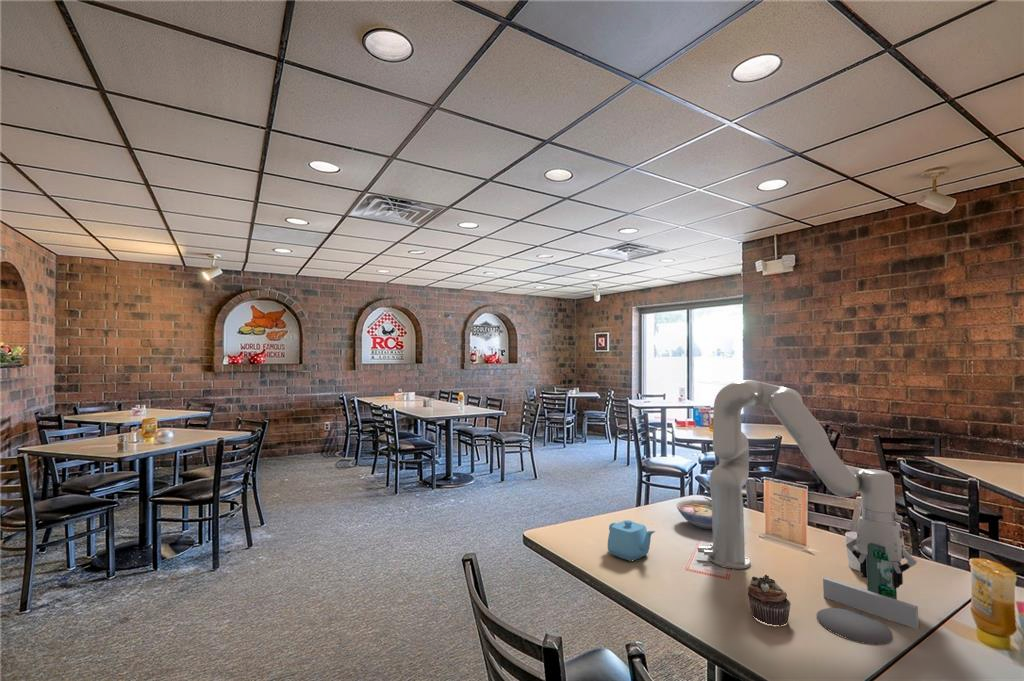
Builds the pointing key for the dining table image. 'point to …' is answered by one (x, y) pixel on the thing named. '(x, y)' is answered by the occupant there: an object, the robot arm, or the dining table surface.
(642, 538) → the teapot
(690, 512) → the ramen bowl
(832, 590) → the panel
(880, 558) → the can
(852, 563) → the white cup
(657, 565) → the dining table surface
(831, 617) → the mat
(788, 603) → the cupcake
